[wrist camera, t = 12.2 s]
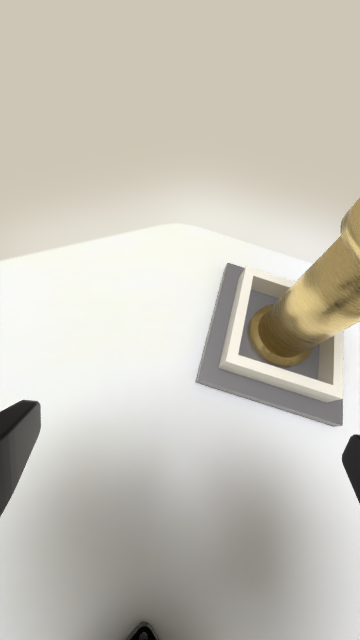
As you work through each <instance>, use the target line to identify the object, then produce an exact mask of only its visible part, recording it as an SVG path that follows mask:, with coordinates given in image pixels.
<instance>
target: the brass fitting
mask: <svg viewBox="0 0 360 640" xmlns="http://www.w3.org/2000/svg"><path fill="white" fill-rule="evenodd" d="M358 322H360V198H359V200H358V201H357V202H356V203H355V204H354V205H353V206H352V207H351V208H350V209H349V211H348V212H347V213H346V214H345V216H344V217H343V219H342V222H341V236H340V237H339V238H338V239H337V240H336V241H335V242H334V243H333V244H332V246H331V247H330V248H329V249H328V250H327V251H326V252H325V253H324V254H323V255H322V256H321V257H320V258H319V259H318V260H317V261H316V262H315V263H314V264H313V265H312V266H311V267H310V268H309V269H308V270H307V271H306V272H305V273H304V274H303V275H302V276H301V277H300V278H299V279H298V280H297V281H296V282H295V283H294V284H293V285H292V286H291V287H290V288H289V289H288V291H287V292H286V293H285V294H284V295H283V296H282V297H281V298H280V299H279V300H278V301H277V302H276V303H275V304H271V305H267V306H264V307H262V308H261V309H259V310H258V311H257V312H256V313H255V314H254V316H253V317H252V318H251V320H250V322H249V325H248V338H249V342H250V344H251V346H252V348H253V350H254V351H255V352H256V354H257V355H258V356H259V357H260V358H261V359H263V360H264V361H265V362H267V363H269V364H271V365H274V366H277V367H291V366H294V365H297V364H299V363H301V362H303V361H304V360H305V359H307V358H308V356H309V355H310V353H311V352H312V349H313V347H314V346H316V345H318V344H320V343H321V342H323V341H325V340H327V339H329V338H330V337H332V336H334V335H336V334H338V333H340V332H341V331H343V330H345V329H347V328H349V327H350V326H352V325H354V324H356V323H358Z"/></svg>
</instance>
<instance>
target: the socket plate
mask: <svg viewBox="0 0 360 640" xmlns="http://www.w3.org/2000/svg"><path fill="white" fill-rule="evenodd" d="M294 283H295V282H294V281H291V280H288V279H285V278H282V277H279V276H276V275H273V274H270V273H267V272H263V271H260V270H257V269H254V268H251V267H248V266H246V267H245V268H242V267H239V266H236V265H233V264H230V263H227V265H226V267H225V269H224V273H223V277H222V281H221V285H220V289H219V293H218V297H217V300H216V304H215V308H214V312H213V316H212V320H211V324H210V328H209V331H208V335H207V339H206V343H205V347H204V351H203V355H202V359H201V363H200V366H199V370H198V374H197V378H196V382H197V383H200V384H204V385H207V386H210V387H213V388H216V389H219V390H222V391H226V392H229V393H232V394H235V395H238V396H241V397H244V398H247V399H251V400H254V401H257V402H260V403H263V404H266V405H269V406H272V407H276V408H279V409H282V410H285V411H288V412H291V413H294V414H297V415H301V416H304V417H307V418H310V419H313V420H316V421H319V422H322V423H326V424H329V425H332V426H342V424H343V360H344V330H343V331H341V332H340V333H338V334H336V335H334V336H332V337H330V338H329V339H327V340H325V341H323V342H321V343H320V344H318V345H316V346H314V347H313V349H312V352H311V353H310V355H309V356H308V358H307V359H305V360H304V361H303V362H301V363H299V364H297V365H294V366H291V367H277V366H274V365H271V364H269V363H267V362H265V361H264V360H263V359H261V358H260V357H259V356H258V355H257V354H256V352H255V351H254V350H253V348H252V346H251V344H250V342H249V338H248V325H249V322H250V320H251V318H252V317H253V316H254V314H255V313H256V312H257V311H258V310H259V309H261V308H262V307H264V306H267V305H271V304H275V303H276V302H277V301H278V300H279V299H280V298H281V297H282V296H283V295H284V294H285V293H286V292H287V291H288V289H289V288H290V287H291V286H292V285H293V284H294Z"/></svg>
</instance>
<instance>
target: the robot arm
mask: <svg viewBox="0 0 360 640" xmlns="http://www.w3.org/2000/svg"><path fill="white" fill-rule="evenodd" d="M40 428H41V413H40V403H39V402H38V401H31V400H22V401H20V402H18V403H16V404H14V405H12V406H10V407H8V408H6V409H4V410H3V411H1V412H0V516H1V515H2V513H3V511H4V509H5V507H6V506H7V504H8V502H9V500H10V498H11V496H12V494H13V492H14V490H15V488H16V486H17V484H18V481H19V479H20V477H21V474H22V472H23V470H24V468H25V465H26V463H27V461H28V458H29V456H30V454H31V451H32V449H33V447H34V445H35V442H36V440H37V438H38V435H39V432H40ZM342 463H343V466H344V468H345V470H346V473H347V475H348V477H349V480H350V482H351V484H352V487H353V489H354V491H355V494H356V496H357V498H358V501H359V503H360V435H353V436H351V438H350V439H349V442H348V444H347V446H346V448H345V450H344V452H343V454H342ZM143 632H146V633H147V634H148V636H147V638H146V639H145V640H159V639H158V637H157V635H156V634H155V632H154V631H153V629H152V627H151V626H150V625H149V623H147V622H142V623H140V624H139V625H138V626H137V627H136V628H135V630H134V631H133V632H132V633H131V634H130V635H129V637H128V638H127V639H126V640H141V639H140V637H139V636H140V635H141V633H143Z"/></svg>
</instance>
